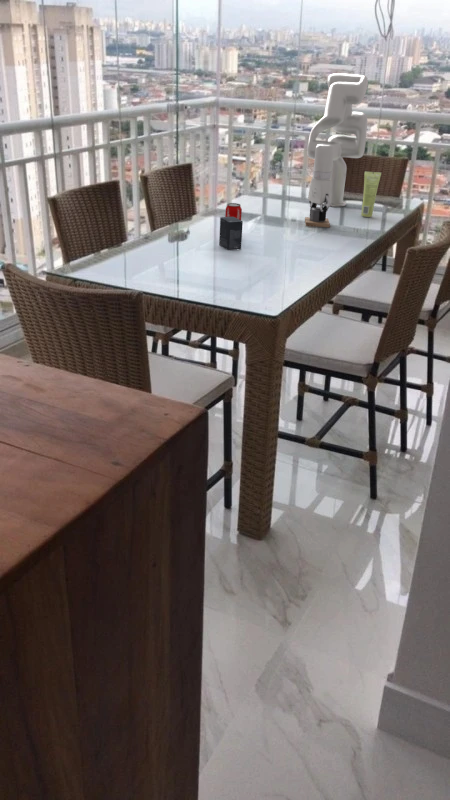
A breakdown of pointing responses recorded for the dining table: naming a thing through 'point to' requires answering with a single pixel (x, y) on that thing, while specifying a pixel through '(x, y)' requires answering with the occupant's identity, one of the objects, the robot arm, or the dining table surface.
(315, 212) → the cap
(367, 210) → the tube
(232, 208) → the soda can
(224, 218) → the box
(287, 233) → the dining table surface
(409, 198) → the dining table surface
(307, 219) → the stud block
